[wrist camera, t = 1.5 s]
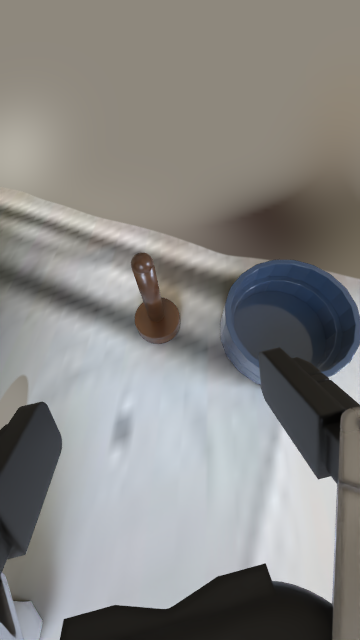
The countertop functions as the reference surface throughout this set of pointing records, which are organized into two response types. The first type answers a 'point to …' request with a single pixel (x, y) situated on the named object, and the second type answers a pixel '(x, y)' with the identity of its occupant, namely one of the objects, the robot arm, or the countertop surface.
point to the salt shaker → (28, 620)
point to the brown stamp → (153, 304)
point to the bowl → (289, 317)
